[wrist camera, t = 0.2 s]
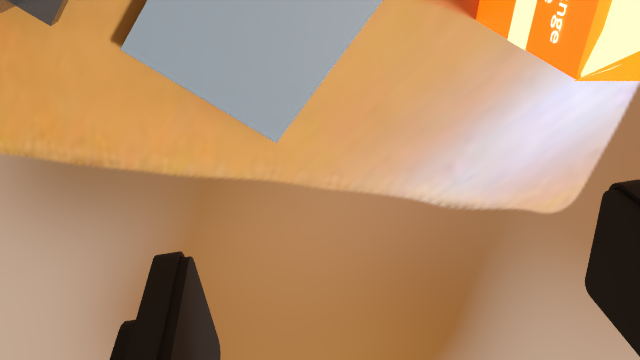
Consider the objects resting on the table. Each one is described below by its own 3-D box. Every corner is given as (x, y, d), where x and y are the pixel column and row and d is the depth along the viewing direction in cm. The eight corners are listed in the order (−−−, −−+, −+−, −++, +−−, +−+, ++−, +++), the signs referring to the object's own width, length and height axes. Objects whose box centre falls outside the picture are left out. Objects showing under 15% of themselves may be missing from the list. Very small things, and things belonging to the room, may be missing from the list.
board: (234, -156, 32) (234, -157, 32) (394, -23, 38) (397, -20, 37) (123, 45, 38) (120, 49, 37) (275, 138, 43) (276, 142, 42)
